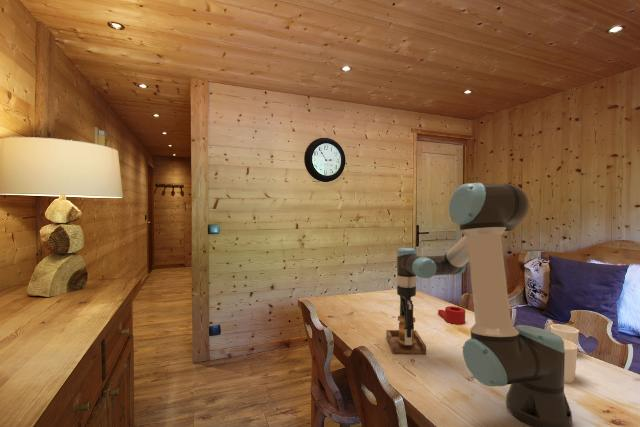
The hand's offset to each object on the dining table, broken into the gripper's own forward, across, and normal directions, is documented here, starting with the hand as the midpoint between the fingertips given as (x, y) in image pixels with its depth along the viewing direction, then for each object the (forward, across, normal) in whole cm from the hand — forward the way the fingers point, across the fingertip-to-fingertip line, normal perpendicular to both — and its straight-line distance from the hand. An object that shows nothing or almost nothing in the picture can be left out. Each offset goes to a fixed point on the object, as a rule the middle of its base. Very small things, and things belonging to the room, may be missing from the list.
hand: (406, 340), depth 132 cm
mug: (+3, -2, -62) cm, 63 cm away
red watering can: (+3, +36, -31) cm, 48 cm away
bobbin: (+1, 0, 0) cm, 1 cm away
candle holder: (+3, -21, -47) cm, 52 cm away
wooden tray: (+3, +2, 0) cm, 4 cm away
